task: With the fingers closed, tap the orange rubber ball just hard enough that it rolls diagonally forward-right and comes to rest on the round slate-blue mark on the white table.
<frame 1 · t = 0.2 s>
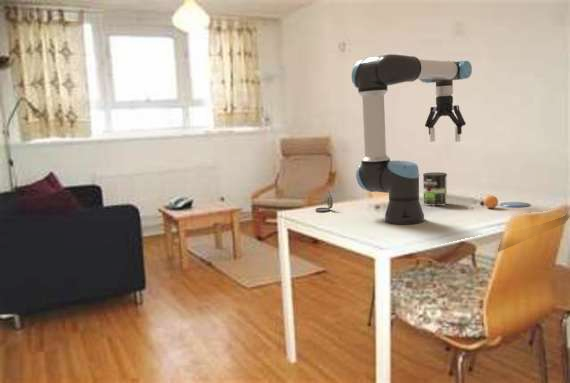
hand: (444, 141, 230), 28 cm above the table, tool pointing down, fingers open, 13 cm apart
coffee can: (435, 204, 224), on the table
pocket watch: (325, 211, 224), on the table
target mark: (515, 204, 211), on the table
ball: (490, 201, 207), on the table
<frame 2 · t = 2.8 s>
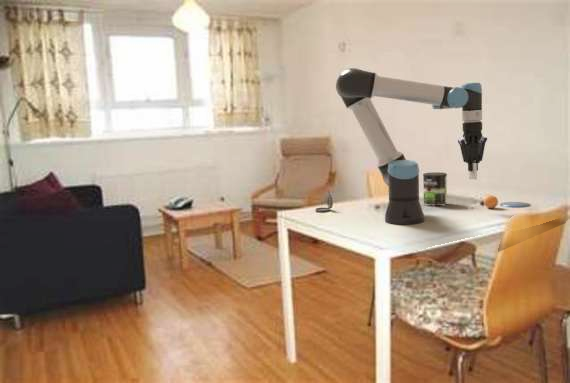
hand: (473, 178, 203), 13 cm above the table, tool pointing down, fingers closed
nothing on the table moved.
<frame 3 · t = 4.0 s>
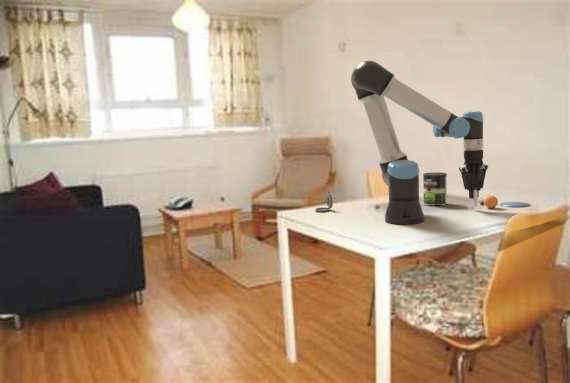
hand: (473, 205, 204), 2 cm above the table, tool pointing down, fingers closed
nothing on the table moved.
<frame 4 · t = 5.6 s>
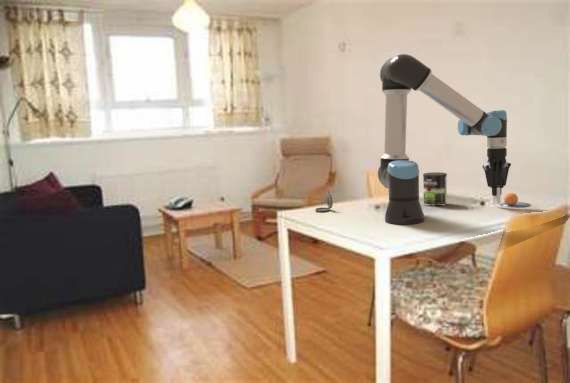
hand: (496, 202, 208), 2 cm above the table, tool pointing down, fingers closed
ball: (510, 199, 210), on the table
everything else where it was.
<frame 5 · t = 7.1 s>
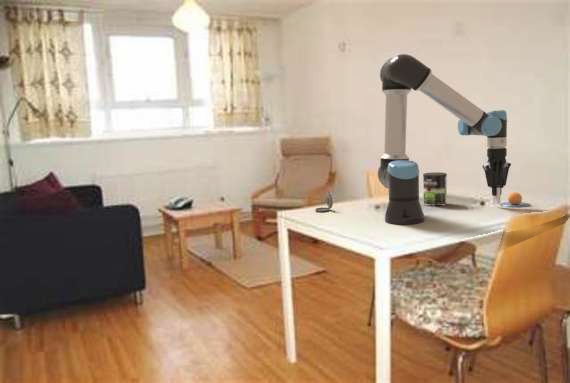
hand: (496, 203, 208), 2 cm above the table, tool pointing down, fingers closed
ball: (515, 198, 211), on the table
everything else where it was.
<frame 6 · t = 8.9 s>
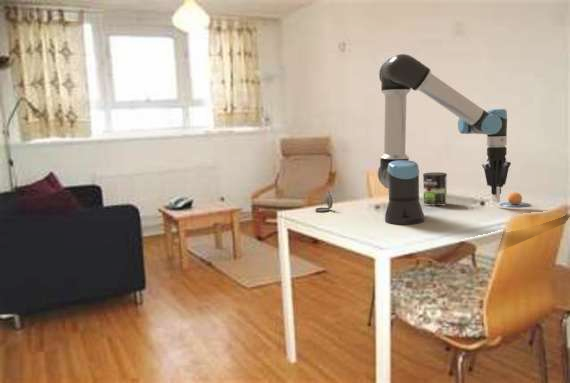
hand: (496, 201, 208), 2 cm above the table, tool pointing down, fingers closed
nothing on the table moved.
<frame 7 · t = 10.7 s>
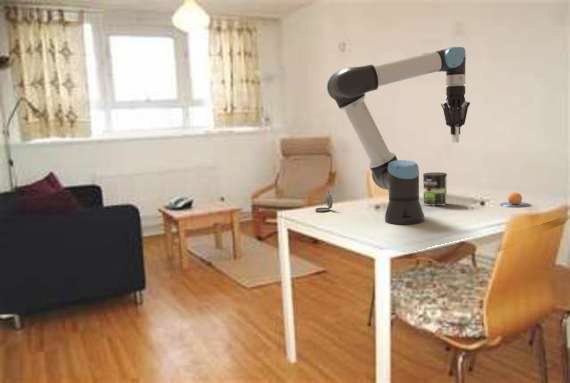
hand: (455, 142, 208), 29 cm above the table, tool pointing down, fingers closed
nothing on the table moved.
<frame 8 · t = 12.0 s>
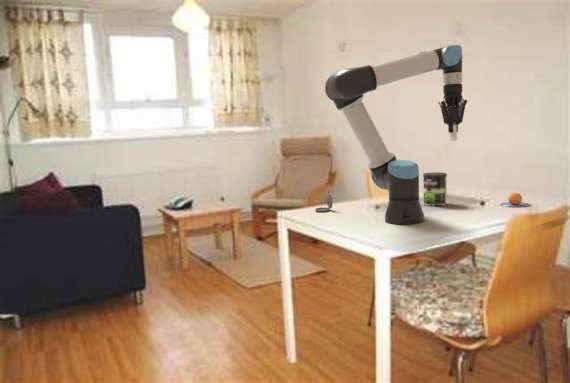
hand: (453, 140, 208), 29 cm above the table, tool pointing down, fingers closed
nothing on the table moved.
at the end: ball 0.2 cm from the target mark (horizontally); ball at rest at the end (0.0 cm/s); ball moved 12.7 cm from its start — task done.
